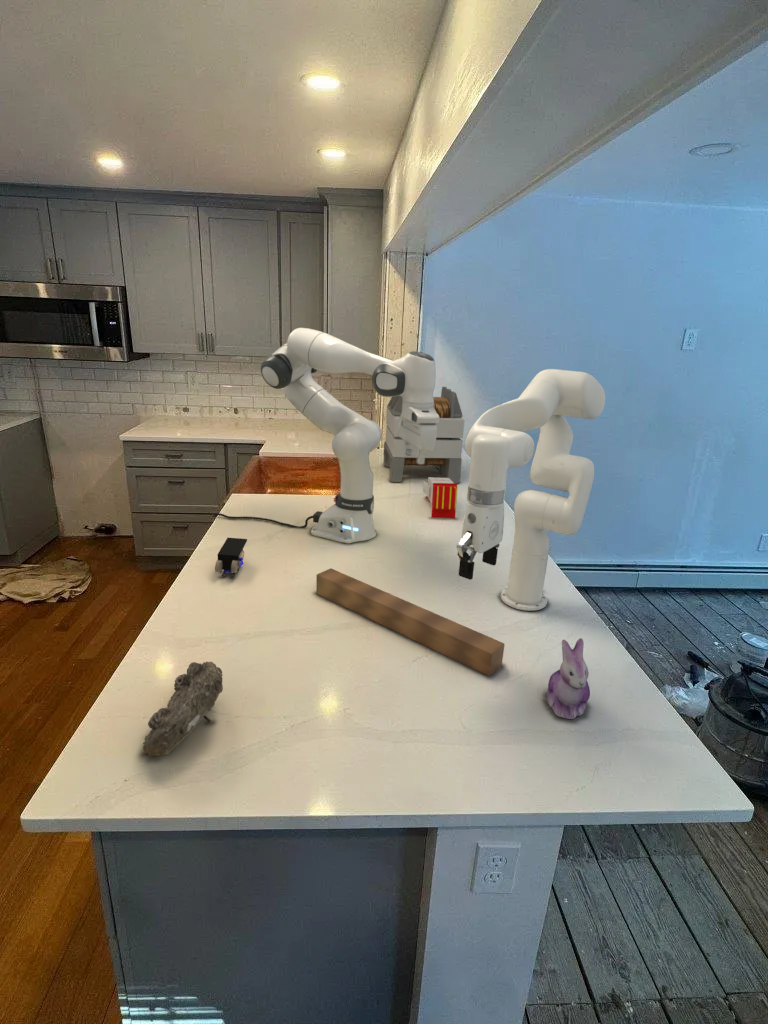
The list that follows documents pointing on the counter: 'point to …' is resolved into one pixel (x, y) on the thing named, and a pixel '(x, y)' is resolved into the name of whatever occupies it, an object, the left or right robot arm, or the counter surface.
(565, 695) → the figurine
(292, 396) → the left robot arm
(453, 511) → the toy
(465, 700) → the counter surface
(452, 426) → the transformer
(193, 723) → the fossil
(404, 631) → the beam
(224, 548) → the figurine character
